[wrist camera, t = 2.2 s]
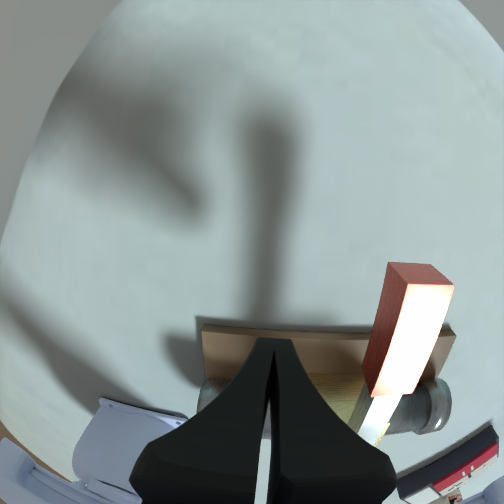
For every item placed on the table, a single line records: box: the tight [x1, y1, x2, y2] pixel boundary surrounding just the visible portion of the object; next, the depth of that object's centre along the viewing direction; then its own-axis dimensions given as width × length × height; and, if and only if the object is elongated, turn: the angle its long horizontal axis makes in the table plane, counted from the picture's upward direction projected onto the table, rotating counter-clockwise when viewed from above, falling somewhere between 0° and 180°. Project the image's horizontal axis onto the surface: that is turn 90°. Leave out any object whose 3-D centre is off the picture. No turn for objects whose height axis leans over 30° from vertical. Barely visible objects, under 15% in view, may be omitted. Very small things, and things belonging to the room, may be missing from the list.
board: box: [201, 324, 456, 386], centre depth 19 cm, size 18×11×1 cm, turn 88°
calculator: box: [397, 425, 499, 504], centre depth 23 cm, size 11×4×15 cm
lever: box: [347, 262, 455, 446], centre depth 10 cm, size 3×14×2 cm, turn 178°
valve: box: [197, 373, 452, 447], centre depth 16 cm, size 18×5×6 cm, turn 88°
